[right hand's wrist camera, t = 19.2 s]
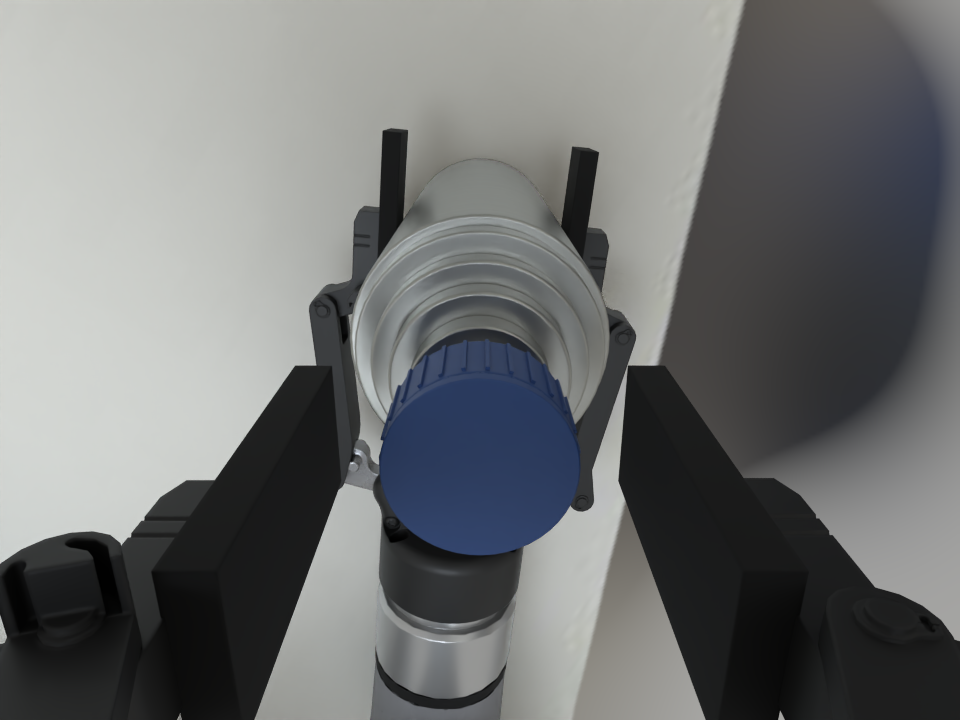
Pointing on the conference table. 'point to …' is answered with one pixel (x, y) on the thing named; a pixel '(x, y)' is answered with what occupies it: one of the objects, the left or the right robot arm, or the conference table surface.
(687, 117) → the conference table surface
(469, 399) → the cap
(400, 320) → the bottle
